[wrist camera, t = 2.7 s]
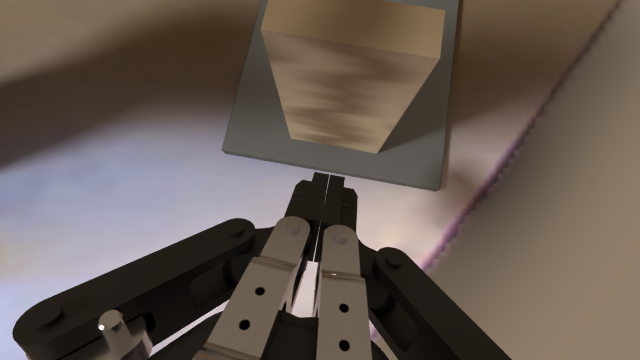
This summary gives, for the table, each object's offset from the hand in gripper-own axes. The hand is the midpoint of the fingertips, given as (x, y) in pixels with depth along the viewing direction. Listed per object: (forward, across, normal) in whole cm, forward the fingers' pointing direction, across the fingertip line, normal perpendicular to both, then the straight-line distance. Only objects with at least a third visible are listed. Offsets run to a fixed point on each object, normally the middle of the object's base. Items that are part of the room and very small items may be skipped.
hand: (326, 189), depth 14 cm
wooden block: (+13, 0, +3) cm, 13 cm away
